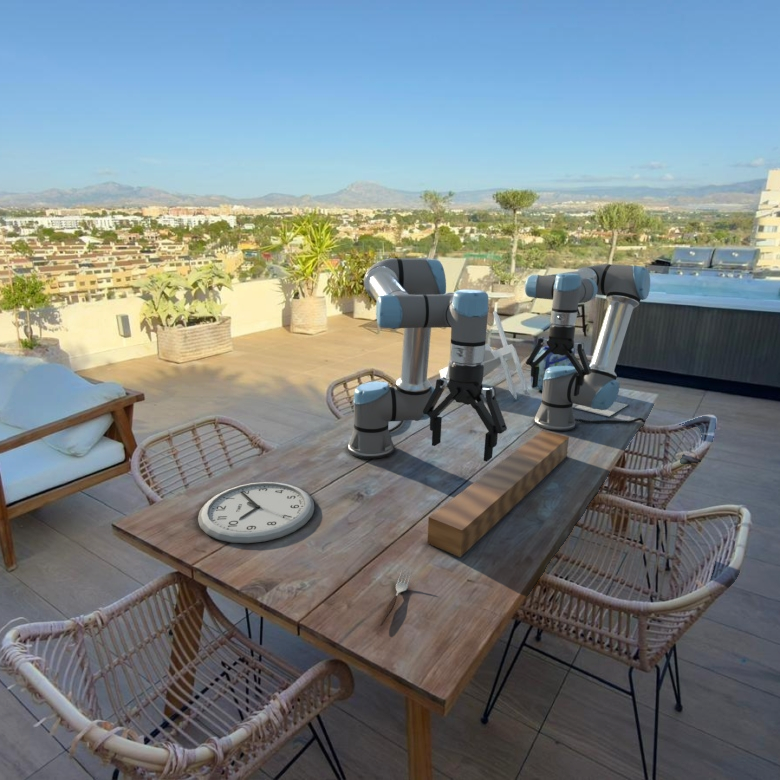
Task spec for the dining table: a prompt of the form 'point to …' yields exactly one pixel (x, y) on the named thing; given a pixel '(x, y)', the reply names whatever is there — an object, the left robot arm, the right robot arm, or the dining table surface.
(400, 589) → the fork
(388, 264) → the left robot arm
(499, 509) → the wide beam
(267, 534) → the wall clock
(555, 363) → the lunch box
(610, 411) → the invitation card
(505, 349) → the white plastic object
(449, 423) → the dining table surface
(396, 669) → the dining table surface
